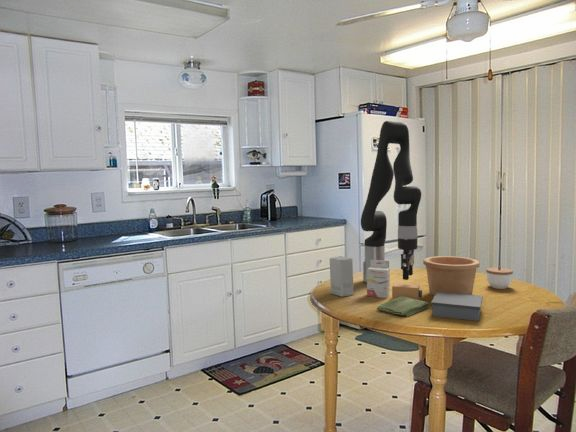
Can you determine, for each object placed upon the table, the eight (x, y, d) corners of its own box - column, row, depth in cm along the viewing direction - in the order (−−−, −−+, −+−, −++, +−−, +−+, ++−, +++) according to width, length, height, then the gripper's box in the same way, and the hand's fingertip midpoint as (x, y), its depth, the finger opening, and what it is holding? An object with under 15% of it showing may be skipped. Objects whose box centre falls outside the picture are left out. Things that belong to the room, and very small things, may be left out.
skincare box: (353, 295, 191) (353, 258, 190) (341, 297, 188) (341, 260, 187) (341, 291, 198) (341, 255, 197) (329, 293, 195) (329, 257, 194)
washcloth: (374, 311, 169) (374, 303, 169) (401, 302, 181) (402, 294, 180) (405, 319, 159) (405, 310, 159) (431, 309, 171) (432, 300, 171)
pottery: (484, 302, 177) (485, 266, 175) (425, 300, 181) (425, 264, 180) (473, 289, 198) (474, 256, 197) (420, 287, 202) (421, 255, 201)
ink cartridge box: (366, 296, 189) (366, 261, 188) (369, 293, 193) (369, 259, 192) (387, 298, 185) (387, 262, 184) (389, 295, 190) (390, 260, 189)
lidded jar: (486, 289, 198) (486, 267, 197) (485, 283, 207) (485, 263, 207) (513, 291, 194) (514, 269, 193) (511, 285, 203) (512, 264, 203)
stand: (430, 316, 161) (431, 302, 161) (437, 304, 175) (437, 291, 175) (480, 321, 154) (480, 307, 154) (482, 308, 169) (482, 295, 168)
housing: (392, 301, 182) (392, 286, 181) (393, 297, 187) (394, 283, 186) (421, 303, 178) (421, 288, 177) (422, 299, 183) (422, 285, 183)
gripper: (401, 234, 188) (401, 273, 189) (394, 238, 175) (394, 280, 177) (420, 235, 185) (420, 274, 186) (414, 239, 172) (414, 281, 173)
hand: (407, 277), depth 181 cm, fingers open, 8 cm apart
